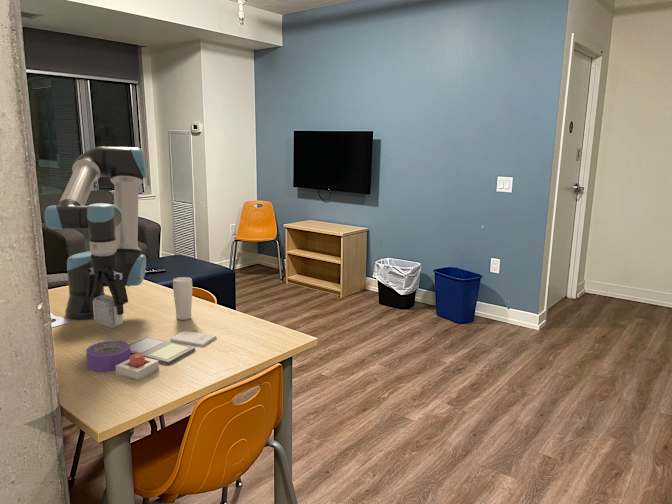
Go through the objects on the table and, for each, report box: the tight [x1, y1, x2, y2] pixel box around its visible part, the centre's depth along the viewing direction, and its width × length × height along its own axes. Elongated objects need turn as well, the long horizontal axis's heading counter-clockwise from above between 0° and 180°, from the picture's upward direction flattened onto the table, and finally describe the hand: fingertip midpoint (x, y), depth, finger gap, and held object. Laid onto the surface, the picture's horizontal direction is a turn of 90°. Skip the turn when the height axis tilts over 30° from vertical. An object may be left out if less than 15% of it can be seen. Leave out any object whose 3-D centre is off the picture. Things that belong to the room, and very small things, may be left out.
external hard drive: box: [169, 330, 217, 348], centre depth 169 cm, size 2×8×12 cm
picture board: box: [128, 336, 196, 366], centre depth 159 cm, size 20×12×1 cm, turn 66°
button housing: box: [115, 357, 160, 382], centre depth 144 cm, size 8×8×3 cm
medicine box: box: [94, 294, 123, 328], centre depth 163 cm, size 8×4×9 cm, turn 58°
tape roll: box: [86, 340, 131, 373], centre depth 149 cm, size 12×12×5 cm
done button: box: [129, 354, 145, 368], centre depth 143 cm, size 4×4×3 cm
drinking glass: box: [172, 276, 193, 321], centre depth 187 cm, size 7×7×15 cm
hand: (108, 321), depth 164 cm, fingers closed on medicine box, 8 cm apart
